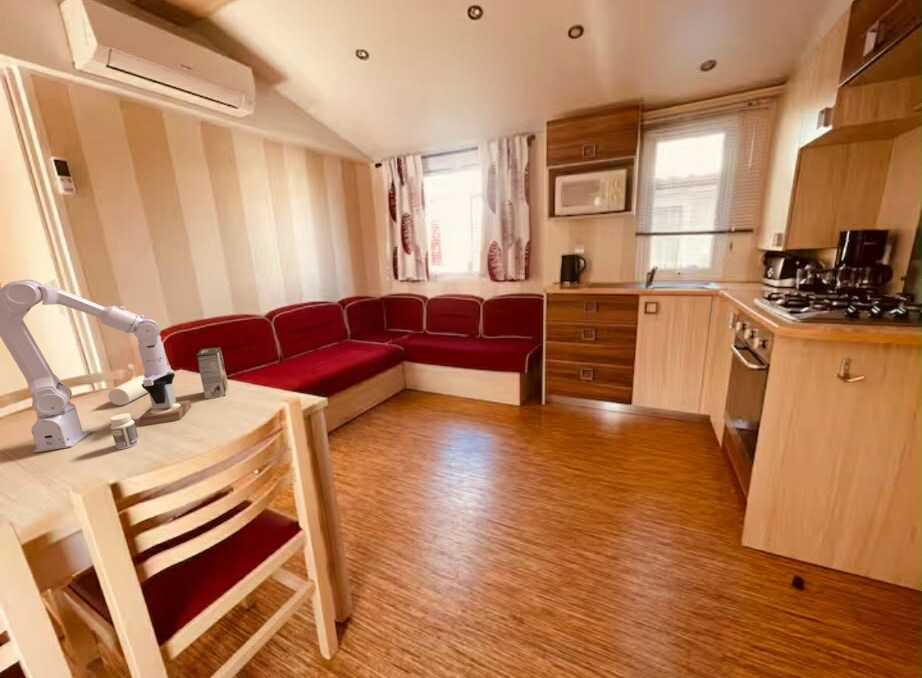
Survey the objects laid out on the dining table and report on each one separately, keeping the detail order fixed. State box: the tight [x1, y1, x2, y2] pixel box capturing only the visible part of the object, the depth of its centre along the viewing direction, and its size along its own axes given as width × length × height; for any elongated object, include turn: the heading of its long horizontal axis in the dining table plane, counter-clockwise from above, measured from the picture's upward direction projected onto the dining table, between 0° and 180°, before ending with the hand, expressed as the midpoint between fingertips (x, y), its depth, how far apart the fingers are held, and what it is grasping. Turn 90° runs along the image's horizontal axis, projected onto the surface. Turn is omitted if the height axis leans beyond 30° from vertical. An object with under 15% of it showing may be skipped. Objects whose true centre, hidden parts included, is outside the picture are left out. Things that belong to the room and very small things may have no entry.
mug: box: [108, 375, 149, 406], centre depth 131 cm, size 10×7×12 cm
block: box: [149, 383, 177, 409], centre depth 116 cm, size 4×4×6 cm
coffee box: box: [196, 346, 229, 400], centre depth 133 cm, size 9×6×16 cm
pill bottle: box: [110, 412, 140, 450], centre depth 99 cm, size 5×5×8 cm
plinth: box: [138, 399, 192, 426], centre depth 117 cm, size 10×10×3 cm
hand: (163, 400), depth 116 cm, fingers closed on block, 4 cm apart
